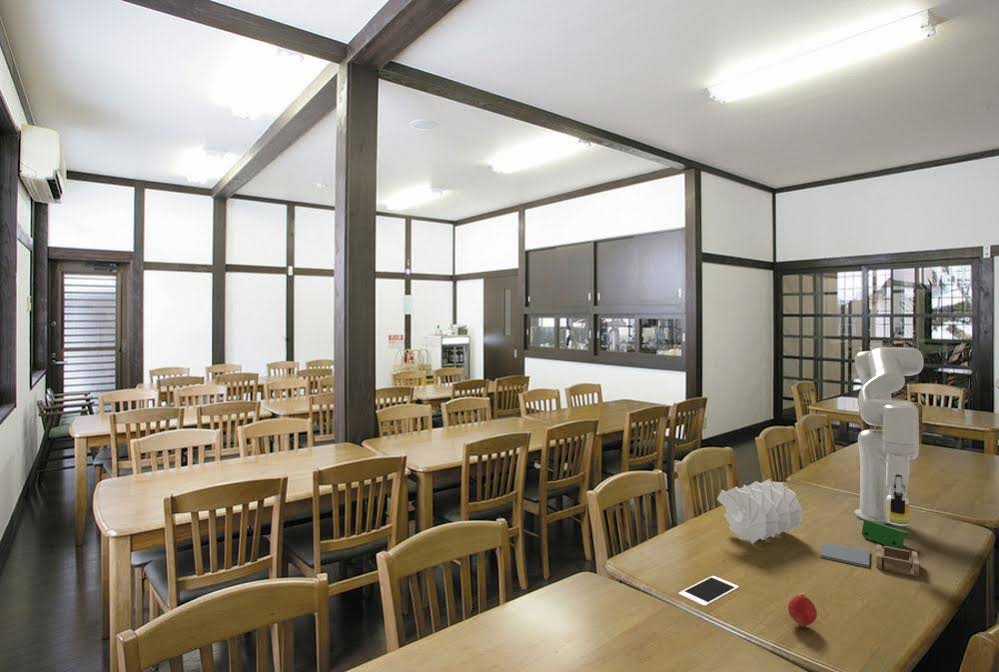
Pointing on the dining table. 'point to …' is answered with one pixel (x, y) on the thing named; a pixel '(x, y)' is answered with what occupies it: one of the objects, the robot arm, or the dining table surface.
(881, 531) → the clamp
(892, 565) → the frame
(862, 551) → the rubber mat
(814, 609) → the onion
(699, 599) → the cell phone
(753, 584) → the dining table surface
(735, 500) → the white origami shape
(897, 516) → the supplement bottle
